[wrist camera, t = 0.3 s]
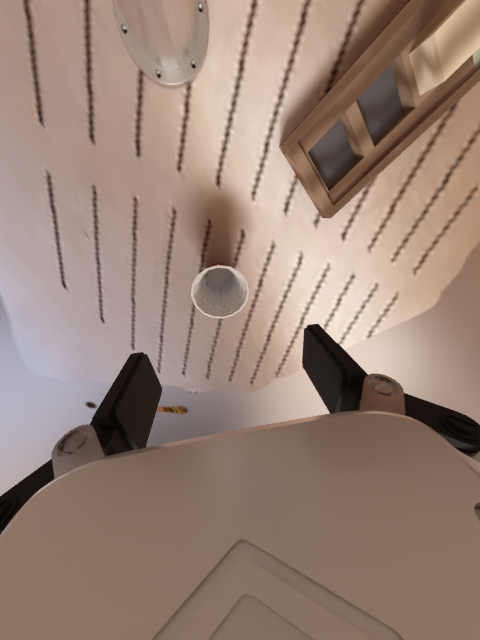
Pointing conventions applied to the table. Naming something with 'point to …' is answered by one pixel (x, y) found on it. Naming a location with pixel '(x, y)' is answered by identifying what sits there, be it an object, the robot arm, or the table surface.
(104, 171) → the table surface
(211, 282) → the plastic cup
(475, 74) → the tray
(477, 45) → the maple block
